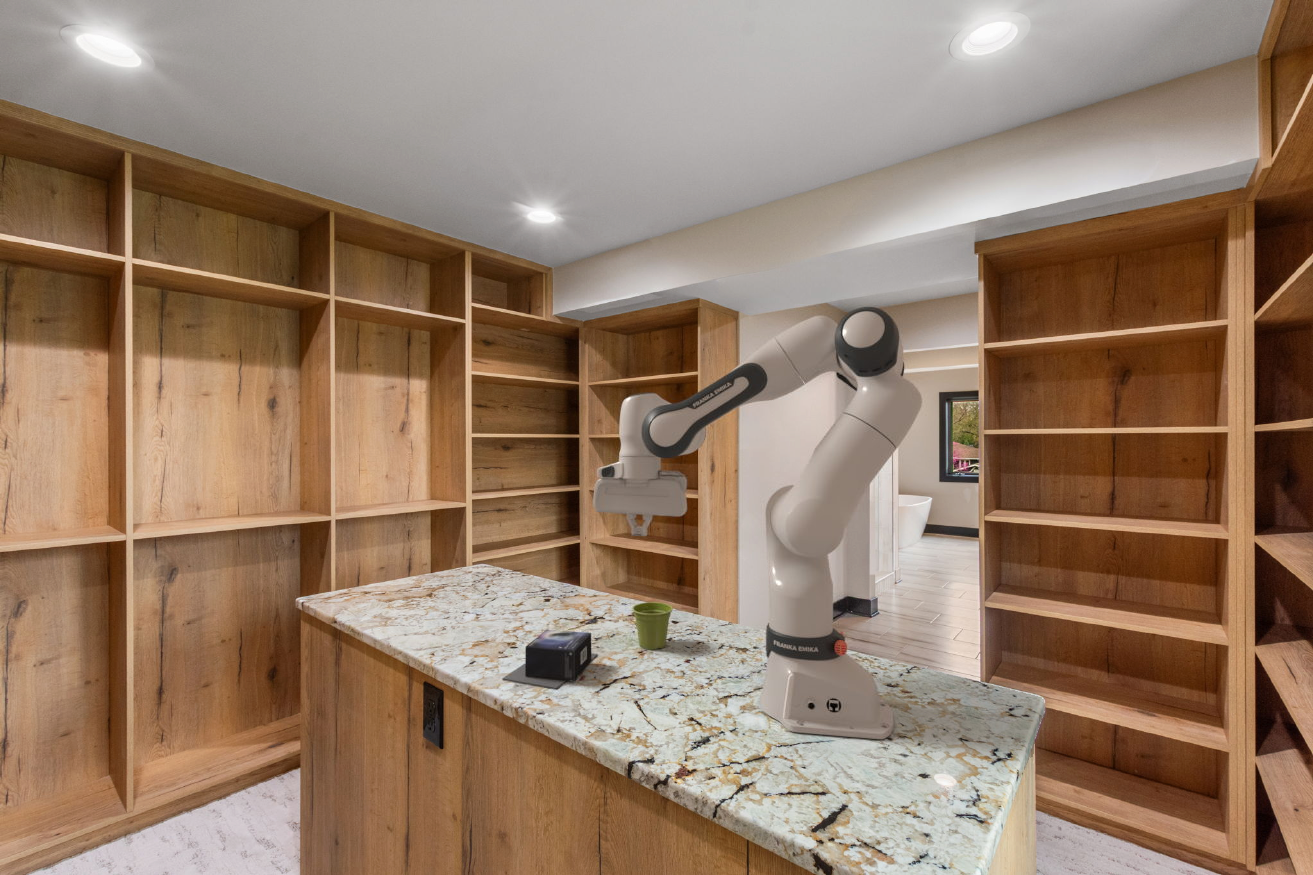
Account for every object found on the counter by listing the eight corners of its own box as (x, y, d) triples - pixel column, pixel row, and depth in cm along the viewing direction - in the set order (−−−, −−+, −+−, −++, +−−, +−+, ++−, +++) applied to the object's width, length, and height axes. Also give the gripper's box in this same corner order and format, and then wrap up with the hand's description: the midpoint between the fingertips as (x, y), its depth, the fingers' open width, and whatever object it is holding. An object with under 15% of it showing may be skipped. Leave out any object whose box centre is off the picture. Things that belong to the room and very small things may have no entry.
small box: (574, 648, 110) (523, 645, 112) (574, 682, 110) (524, 678, 112) (591, 630, 120) (545, 627, 122) (592, 661, 120) (545, 658, 122)
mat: (597, 655, 124) (597, 654, 124) (556, 689, 108) (556, 687, 108) (549, 648, 129) (549, 646, 129) (502, 679, 112) (502, 678, 112)
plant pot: (626, 650, 127) (626, 612, 127) (638, 636, 137) (638, 600, 137) (667, 654, 125) (667, 615, 125) (676, 640, 134) (676, 603, 134)
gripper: (691, 470, 120) (690, 536, 120) (602, 468, 127) (602, 530, 127) (682, 472, 114) (681, 541, 114) (590, 469, 121) (589, 534, 121)
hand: (639, 535), depth 120 cm, fingers closed
